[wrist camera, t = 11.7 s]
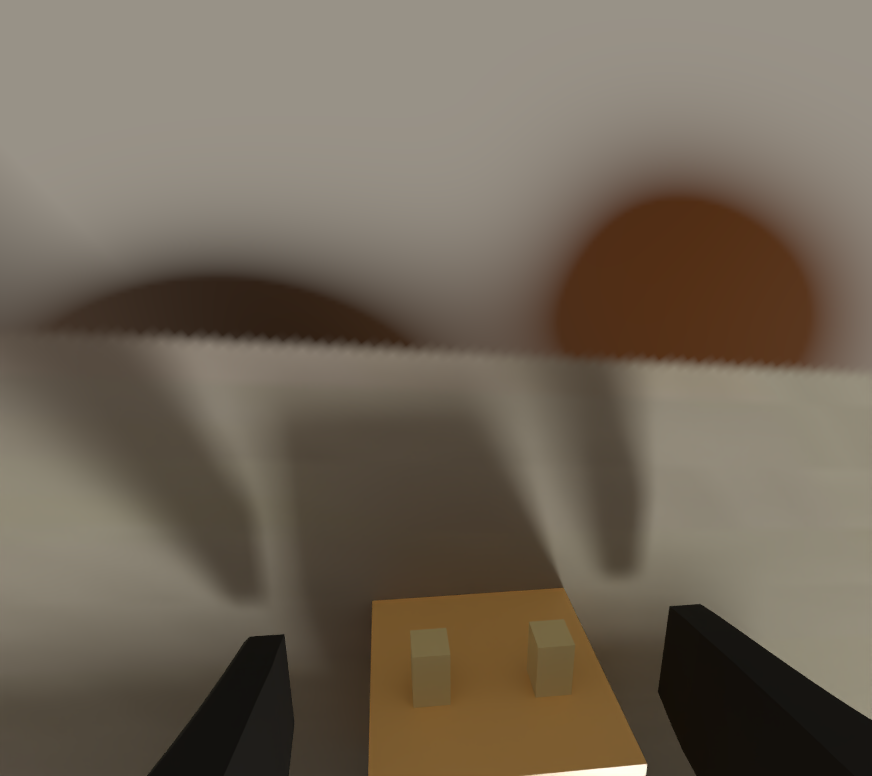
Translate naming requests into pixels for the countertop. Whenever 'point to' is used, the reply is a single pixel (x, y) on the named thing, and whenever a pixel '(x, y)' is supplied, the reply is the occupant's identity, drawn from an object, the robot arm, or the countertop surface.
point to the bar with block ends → (492, 690)
